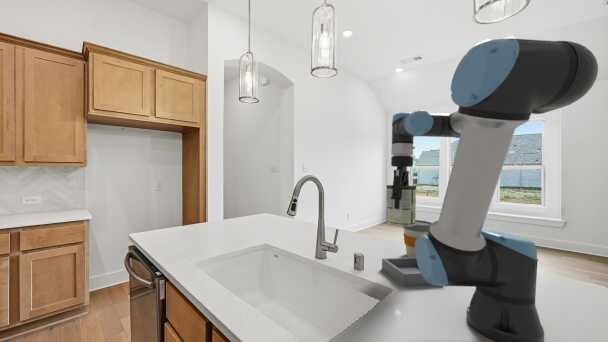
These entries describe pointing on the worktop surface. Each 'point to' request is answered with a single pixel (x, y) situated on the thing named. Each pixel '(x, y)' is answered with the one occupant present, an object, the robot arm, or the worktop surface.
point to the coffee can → (407, 206)
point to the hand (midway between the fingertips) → (400, 216)
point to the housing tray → (404, 271)
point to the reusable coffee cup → (414, 235)
